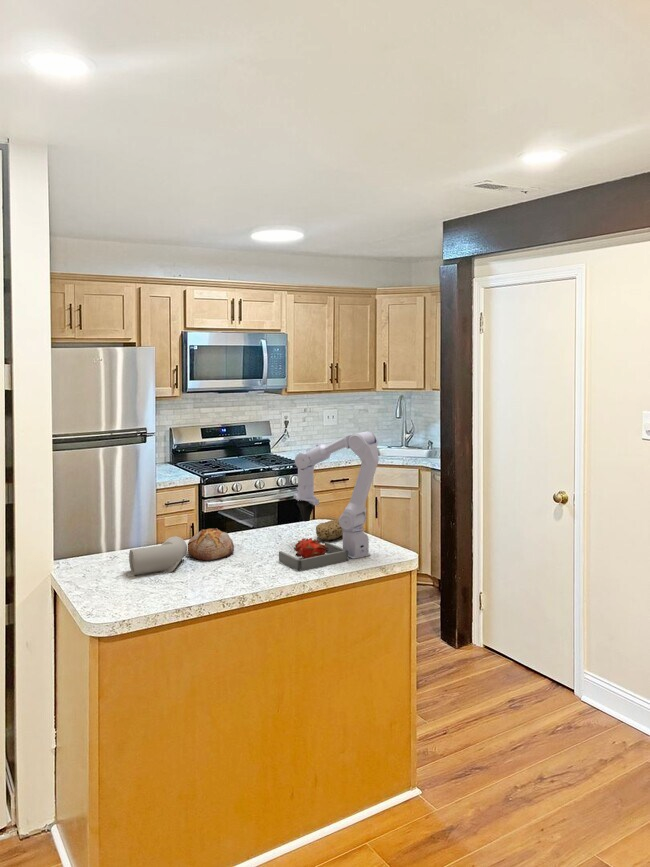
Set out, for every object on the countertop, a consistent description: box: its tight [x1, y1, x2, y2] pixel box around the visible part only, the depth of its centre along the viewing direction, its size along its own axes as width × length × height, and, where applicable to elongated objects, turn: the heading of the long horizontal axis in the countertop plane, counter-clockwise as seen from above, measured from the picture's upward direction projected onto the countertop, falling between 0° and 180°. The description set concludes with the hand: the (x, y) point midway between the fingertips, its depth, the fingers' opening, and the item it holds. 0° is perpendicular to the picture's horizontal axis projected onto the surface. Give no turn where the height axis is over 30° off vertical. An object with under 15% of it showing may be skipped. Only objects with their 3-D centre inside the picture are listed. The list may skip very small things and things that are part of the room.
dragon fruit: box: [294, 537, 329, 559], centre depth 242 cm, size 8×8×12 cm
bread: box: [187, 527, 235, 562], centre depth 251 cm, size 16×20×10 cm
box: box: [278, 541, 349, 572], centre depth 242 cm, size 13×20×4 cm, turn 124°
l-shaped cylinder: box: [128, 535, 188, 576], centre depth 235 cm, size 18×10×20 cm
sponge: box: [315, 518, 343, 541], centre depth 272 cm, size 13×8×20 cm
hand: (306, 520), depth 259 cm, fingers closed
